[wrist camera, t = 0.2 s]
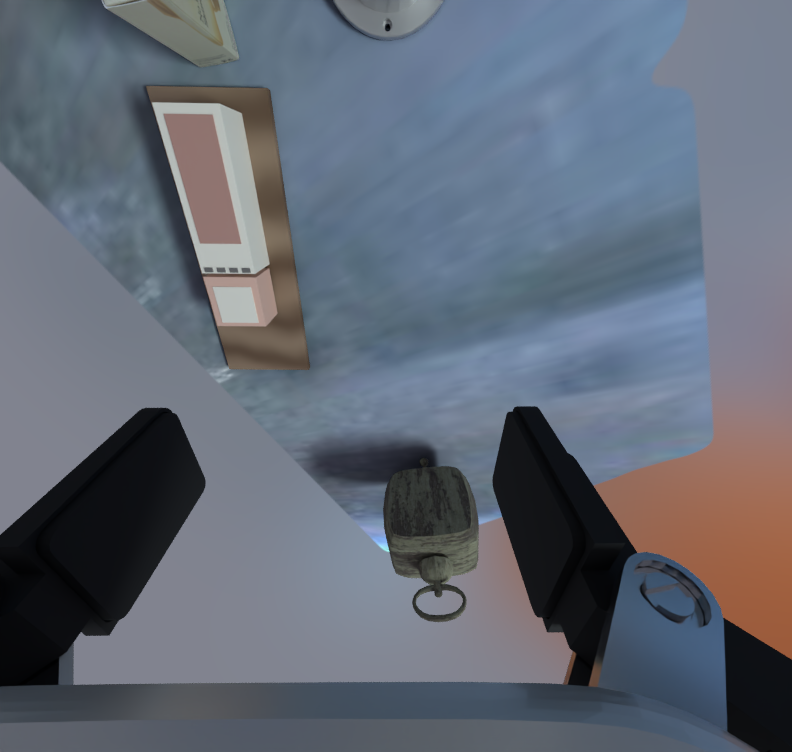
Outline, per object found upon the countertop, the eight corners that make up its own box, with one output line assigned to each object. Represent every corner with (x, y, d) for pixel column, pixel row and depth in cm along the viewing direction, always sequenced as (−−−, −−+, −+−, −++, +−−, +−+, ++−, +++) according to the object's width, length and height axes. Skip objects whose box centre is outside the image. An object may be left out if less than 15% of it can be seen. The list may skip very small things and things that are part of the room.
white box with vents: (182, 112, 33) (150, 102, 29) (241, 113, 33) (218, 103, 29) (222, 263, 41) (201, 273, 37) (269, 264, 41) (254, 274, 37)
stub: (221, 267, 41) (202, 277, 37) (269, 268, 41) (255, 277, 37) (233, 312, 44) (217, 326, 40) (277, 313, 44) (265, 326, 40)
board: (151, 88, 33) (146, 86, 32) (269, 90, 33) (267, 88, 32) (231, 366, 50) (229, 369, 49) (310, 367, 50) (308, 369, 49)
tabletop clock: (390, 485, 64) (388, 639, 43) (383, 452, 59) (377, 606, 38) (463, 479, 63) (499, 632, 42) (462, 445, 58) (502, 597, 37)
